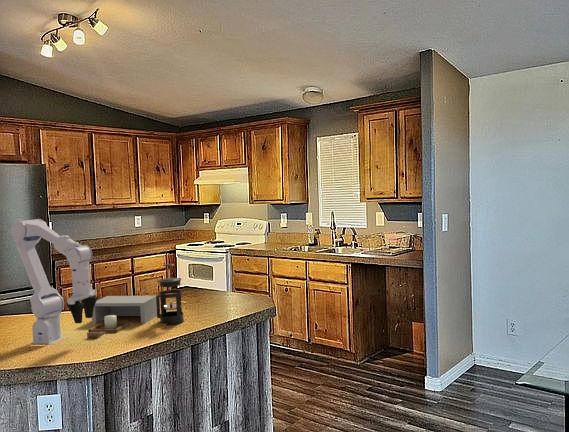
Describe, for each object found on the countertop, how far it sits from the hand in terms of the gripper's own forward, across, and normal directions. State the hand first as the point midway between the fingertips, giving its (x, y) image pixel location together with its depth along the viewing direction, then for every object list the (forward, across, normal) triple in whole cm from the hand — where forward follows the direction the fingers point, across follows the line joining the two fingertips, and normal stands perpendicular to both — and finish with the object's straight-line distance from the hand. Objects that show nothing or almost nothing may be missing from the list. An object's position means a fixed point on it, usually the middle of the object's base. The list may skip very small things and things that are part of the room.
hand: (83, 320), depth 178 cm
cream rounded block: (+8, +18, 0) cm, 20 cm away
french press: (+9, +28, -20) cm, 36 cm away
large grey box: (+8, +31, 0) cm, 32 cm away
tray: (+9, +13, 0) cm, 16 cm away
